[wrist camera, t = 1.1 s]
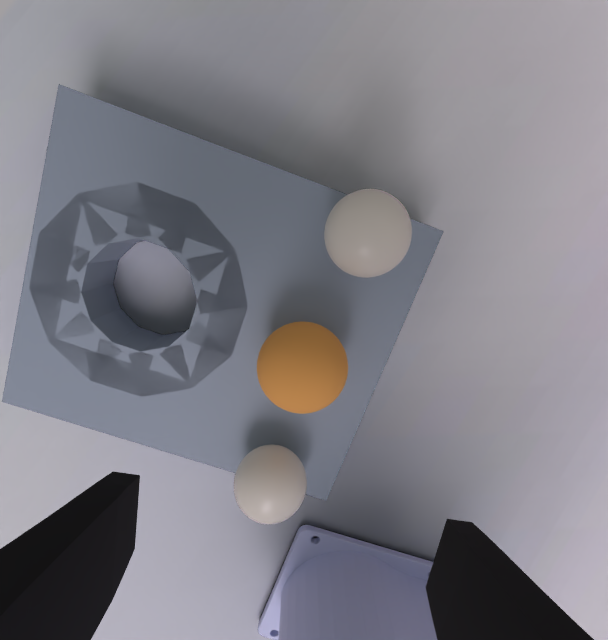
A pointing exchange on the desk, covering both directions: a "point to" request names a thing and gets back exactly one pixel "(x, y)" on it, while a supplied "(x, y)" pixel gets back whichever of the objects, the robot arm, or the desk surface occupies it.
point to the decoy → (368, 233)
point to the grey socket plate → (210, 289)
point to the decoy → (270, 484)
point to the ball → (302, 367)
